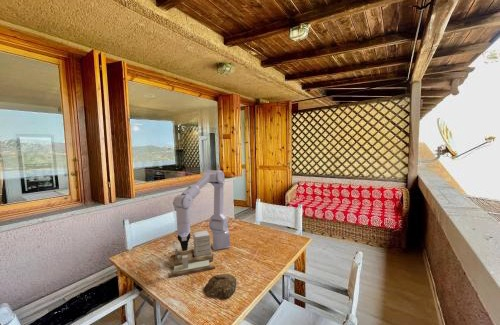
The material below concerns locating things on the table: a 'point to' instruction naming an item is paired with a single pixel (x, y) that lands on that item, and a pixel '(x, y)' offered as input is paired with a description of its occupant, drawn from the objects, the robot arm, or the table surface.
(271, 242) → the table surface
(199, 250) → the supplement box
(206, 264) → the strip
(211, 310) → the table surface
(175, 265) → the lane frame
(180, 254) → the wooden tray
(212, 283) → the bread roll
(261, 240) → the table surface
